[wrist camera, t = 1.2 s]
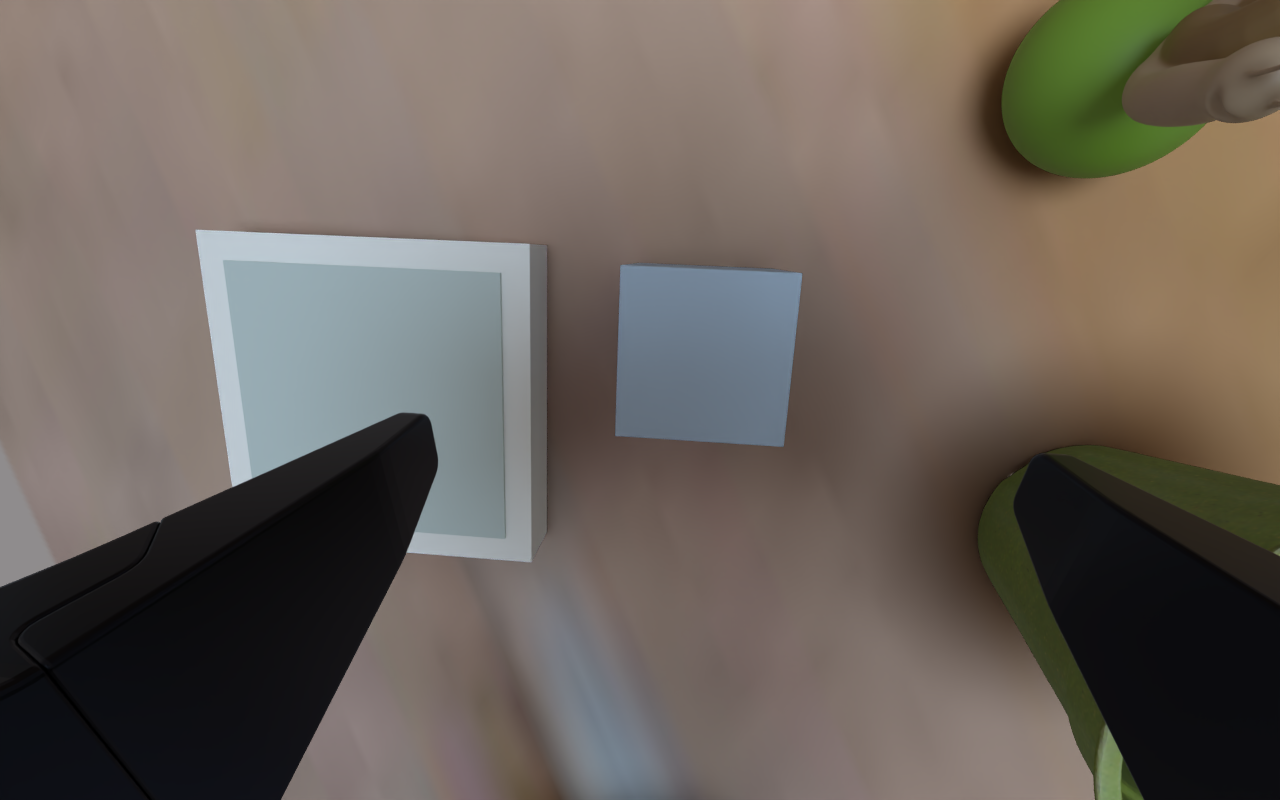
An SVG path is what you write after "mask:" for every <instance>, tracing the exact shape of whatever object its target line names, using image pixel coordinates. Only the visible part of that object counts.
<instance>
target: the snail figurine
mask: <svg viewBox="0 0 1280 800" xmlns="http://www.w3.org/2000/svg"><path fill="white" fill-rule="evenodd" d="M1278 110H1280V0H1060V1H1058V2H1057V3H1056V4H1055V5H1054V6H1052V7H1051V8H1050V9H1049V10H1048V11H1047V12H1046V13H1045V14H1044V15H1043V16H1042V17H1041V18H1040V19H1039V20H1038V21H1037V23H1036V24H1035V25H1034V26H1033V27H1032V29H1031V30H1030V31H1029V32H1028V34H1027V35H1026V36H1025V38H1024V39H1023V41H1022V42H1021V44H1020V46H1019V47H1018V49H1017V51H1016V53H1015V55H1014V57H1013V59H1012V61H1011V63H1010V66H1009V68H1008V71H1007V74H1006V77H1005V81H1004V85H1003V91H1002V117H1003V122H1004V126H1005V129H1006V132H1007V134H1008V136H1009V138H1010V140H1011V142H1012V144H1013V145H1014V147H1015V148H1016V149H1017V150H1018V152H1019V153H1020V154H1021V155H1022V156H1023V157H1024V158H1025V159H1027V160H1028V161H1029V162H1031V163H1032V164H1034V165H1035V166H1037V167H1039V168H1041V169H1043V170H1045V171H1047V172H1050V173H1053V174H1056V175H1060V176H1065V177H1072V178H1100V177H1107V176H1113V175H1117V174H1121V173H1125V172H1128V171H1132V170H1135V169H1137V168H1140V167H1143V166H1145V165H1147V164H1149V163H1152V162H1154V161H1156V160H1158V159H1160V158H1161V157H1163V156H1165V155H1167V154H1168V153H1170V152H1172V151H1173V150H1175V149H1176V148H1178V147H1179V146H1181V145H1182V144H1183V143H1185V142H1186V141H1187V140H1189V139H1190V138H1191V137H1192V136H1193V135H1195V134H1196V133H1197V132H1198V131H1199V130H1200V129H1201V128H1202V127H1203V126H1204V125H1205V124H1206V123H1208V122H1212V121H1215V120H1218V121H1221V122H1226V123H1243V122H1249V121H1253V120H1257V119H1260V118H1263V117H1265V116H1268V115H1270V114H1272V113H1274V112H1276V111H1278Z"/></svg>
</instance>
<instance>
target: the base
mask: <svg viewBox="0 0 1280 800" xmlns="http://www.w3.org/2000/svg"><path fill="white" fill-rule="evenodd" d="M196 237H197V244H198V251H199V258H200V265H201V272H202V279H203V286H204V293H205V300H206V307H207V314H208V321H209V328H210V335H211V341H212V348H213V355H214V362H215V369H216V376H217V383H218V390H219V397H220V404H221V411H222V418H223V425H224V432H225V439H226V446H227V453H228V460H229V467H230V474H231V481H232V487H234V486H236V485H239V484H241V483H243V482H245V481H248V480H250V479H252V478H254V477H257V476H259V475H261V474H263V473H265V472H268V471H270V470H272V469H274V468H277V467H279V466H281V465H283V464H286V463H288V462H290V461H292V460H295V459H297V458H299V457H301V456H304V455H306V454H308V453H310V452H313V451H315V450H317V449H319V448H322V447H324V446H326V445H328V444H330V443H333V442H335V441H337V440H339V439H342V438H344V437H346V436H348V435H351V434H353V433H355V432H357V431H360V430H362V429H364V428H366V427H369V426H371V425H373V424H375V423H378V422H380V421H382V420H384V419H387V418H389V417H391V416H393V415H395V414H398V413H402V412H406V413H421V414H425V415H427V416H428V417H429V419H430V421H431V424H432V429H433V434H434V439H435V444H436V449H437V454H438V469H437V473H436V476H435V478H434V481H433V484H432V487H431V489H430V492H429V495H428V497H427V500H426V503H425V505H424V508H423V511H422V513H421V516H420V519H419V521H418V524H417V527H416V529H415V532H414V535H413V537H412V540H411V543H410V545H409V548H408V550H407V552H408V553H421V554H433V555H445V556H458V557H470V558H482V559H495V560H507V561H520V562H532V561H533V559H534V557H535V555H536V553H537V551H538V549H539V547H540V545H541V543H542V541H543V539H544V537H545V535H546V533H547V245H537V244H520V243H496V242H472V241H449V240H425V239H401V238H377V237H354V236H330V235H306V234H282V233H259V232H235V231H211V230H196Z"/></svg>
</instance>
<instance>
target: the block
mask: <svg viewBox="0 0 1280 800" xmlns="http://www.w3.org/2000/svg"><path fill="white" fill-rule="evenodd" d="M801 282H802V273H798V272H791V271H784V270H777V269H769V268H746V267H723V266H700V265H677V264H654V263H633V264H626V265H621V267H620V298H619V329H618V361H617V392H616V423H615V436H623V437H639V438H654V439H670V440H686V441H701V442H717V443H732V444H748V445H763V446H779V447H784V439H785V429H786V420H787V411H788V402H789V393H790V383H791V374H792V365H793V356H794V346H795V337H796V328H797V319H798V310H799V300H800V291H801Z"/></svg>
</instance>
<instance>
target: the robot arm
mask: <svg viewBox="0 0 1280 800" xmlns="http://www.w3.org/2000/svg"><path fill="white" fill-rule="evenodd" d="M437 469H438V454H437V449H436V444H435V439H434V434H433V429H432V424H431V421H430V419H429V417H428V416H427V415H425V414H421V413H406V412H402V413H398V414H395V415H393V416H391V417H389V418H387V419H384V420H382V421H380V422H378V423H375V424H373V425H371V426H369V427H366V428H364V429H362V430H360V431H357V432H355V433H353V434H351V435H348V436H346V437H344V438H342V439H339V440H337V441H335V442H333V443H330V444H328V445H326V446H324V447H322V448H319V449H317V450H315V451H313V452H310V453H308V454H306V455H304V456H301V457H299V458H297V459H295V460H292V461H290V462H288V463H286V464H283V465H281V466H279V467H277V468H274V469H272V470H270V471H268V472H265V473H263V474H261V475H259V476H257V477H254V478H252V479H250V480H248V481H245V482H243V483H241V484H239V485H236V486H234V487H232V488H230V489H227V490H225V491H223V492H221V493H218V494H216V495H214V496H212V497H209V498H207V499H205V500H203V501H201V502H198V503H196V504H194V505H192V506H189V507H187V508H185V509H183V510H180V511H178V512H176V513H174V514H171V515H169V516H167V517H165V518H163V519H162V520H161V523H160V522H153V523H151V524H149V525H146V526H144V527H142V528H140V529H137V530H135V531H133V532H131V533H129V534H126V535H124V536H122V537H119V538H117V539H115V540H112V541H110V542H108V543H106V544H103V545H101V546H99V547H96V548H94V549H92V550H89V551H87V552H85V553H82V554H80V555H78V556H75V557H73V558H71V559H68V560H66V561H63V562H61V563H58V564H56V565H54V566H51V567H49V568H46V569H44V570H41V571H39V572H36V573H34V574H32V575H29V576H26V577H24V578H22V579H19V580H17V581H14V582H12V583H9V584H7V585H4V586H2V587H0V800H281V798H282V796H283V794H284V792H285V791H286V789H287V787H288V785H289V783H290V781H291V779H292V777H293V775H294V773H295V771H296V769H297V767H298V765H299V763H300V761H301V759H302V757H303V755H304V753H305V751H306V749H307V747H308V745H309V744H310V742H311V740H312V738H313V736H314V734H315V732H316V730H317V728H318V726H319V724H320V722H321V720H322V718H323V716H324V714H325V712H326V710H327V708H328V706H329V704H330V702H331V700H332V699H333V697H334V695H335V693H336V691H337V689H338V687H339V685H340V683H341V681H342V679H343V677H344V675H345V673H346V671H347V669H348V667H349V665H350V663H351V661H352V659H353V657H354V655H355V654H356V652H357V650H358V648H359V646H360V644H361V642H362V640H363V638H364V636H365V634H366V632H367V630H368V628H369V626H370V624H371V622H372V620H373V618H374V616H375V614H376V612H377V610H378V609H379V607H380V605H381V603H382V601H383V599H384V597H385V595H386V593H387V591H388V589H389V587H390V585H391V583H392V581H393V579H394V577H395V575H396V573H397V571H398V569H399V567H400V565H401V563H402V561H403V559H404V557H405V555H406V552H407V550H408V548H409V545H410V543H411V540H412V537H413V535H414V532H415V529H416V527H417V524H418V521H419V519H420V516H421V513H422V511H423V508H424V505H425V503H426V500H427V497H428V495H429V492H430V489H431V487H432V484H433V481H434V478H435V476H436V473H437ZM1013 510H1014V514H1015V517H1016V520H1017V523H1018V526H1019V528H1020V531H1021V534H1022V537H1023V539H1024V542H1025V545H1026V548H1027V550H1028V553H1029V556H1030V559H1031V561H1032V564H1033V567H1034V569H1035V572H1036V575H1037V578H1038V580H1039V583H1040V586H1041V589H1042V591H1043V594H1044V596H1045V599H1046V601H1047V604H1048V606H1049V608H1050V611H1051V613H1052V615H1053V617H1054V619H1055V621H1056V624H1057V626H1058V628H1059V630H1060V632H1061V634H1062V636H1063V638H1064V640H1065V642H1066V644H1067V646H1068V648H1069V650H1070V652H1071V654H1072V656H1073V658H1074V660H1075V662H1076V664H1077V666H1078V668H1079V670H1080V672H1081V674H1082V676H1083V678H1084V680H1085V682H1086V684H1087V686H1088V688H1089V690H1090V692H1091V694H1092V696H1093V698H1094V700H1095V702H1096V704H1097V706H1098V708H1099V711H1100V713H1101V715H1102V717H1103V719H1104V721H1105V723H1106V725H1107V727H1108V729H1109V731H1110V733H1111V735H1112V737H1113V739H1114V741H1115V743H1116V745H1117V747H1118V749H1119V751H1120V753H1121V755H1122V757H1123V759H1124V761H1125V763H1126V765H1127V767H1128V769H1129V771H1130V773H1131V775H1132V777H1133V779H1134V781H1135V783H1136V785H1137V787H1138V789H1139V791H1140V793H1141V795H1142V797H1143V799H1144V800H1280V556H1279V555H1277V554H1275V553H1273V552H1271V551H1269V550H1266V549H1264V548H1262V547H1260V546H1258V545H1256V544H1254V543H1252V542H1250V541H1248V540H1246V539H1244V538H1242V537H1240V536H1237V535H1235V534H1233V533H1231V532H1229V531H1227V530H1225V529H1223V528H1221V527H1219V526H1217V525H1215V524H1213V523H1210V522H1208V521H1206V520H1204V519H1202V518H1200V517H1198V516H1196V515H1194V514H1192V513H1190V512H1188V511H1186V510H1183V509H1181V508H1179V507H1177V506H1175V505H1173V504H1171V503H1169V502H1167V501H1165V500H1163V499H1161V498H1159V497H1156V496H1154V495H1152V494H1150V493H1148V492H1146V491H1144V490H1142V489H1140V488H1138V487H1136V486H1134V485H1132V484H1130V483H1127V482H1125V481H1123V480H1121V479H1119V478H1117V477H1115V476H1113V475H1111V474H1109V473H1107V472H1105V471H1103V470H1100V469H1098V468H1096V467H1094V466H1092V465H1090V464H1088V463H1086V462H1084V461H1082V460H1080V459H1078V458H1076V457H1073V456H1071V455H1066V454H1052V453H1040V454H1037V455H1035V456H1034V457H1033V458H1032V459H1031V461H1030V463H1029V465H1028V467H1027V469H1026V472H1025V474H1024V476H1023V478H1022V481H1021V483H1020V485H1019V487H1018V490H1017V492H1016V494H1015V497H1014V501H1013Z"/></svg>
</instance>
